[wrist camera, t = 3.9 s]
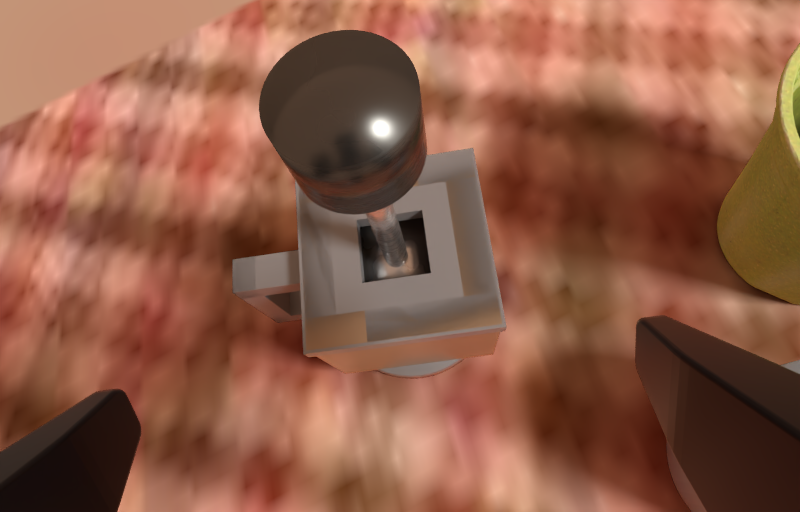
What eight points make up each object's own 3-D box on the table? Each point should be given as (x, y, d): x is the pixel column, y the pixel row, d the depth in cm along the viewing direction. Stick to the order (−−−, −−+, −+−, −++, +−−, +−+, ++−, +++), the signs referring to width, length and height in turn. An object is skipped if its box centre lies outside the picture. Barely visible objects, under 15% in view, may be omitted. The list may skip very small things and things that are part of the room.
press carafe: (502, 367, 22) (518, 335, 16) (292, 394, 23) (224, 374, 16) (476, 219, 24) (480, 139, 18) (286, 247, 25) (225, 179, 19)
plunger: (453, 302, 18) (442, 160, 9) (354, 315, 18) (250, 191, 9) (440, 211, 19) (418, 8, 10) (347, 224, 19) (247, 38, 10)
